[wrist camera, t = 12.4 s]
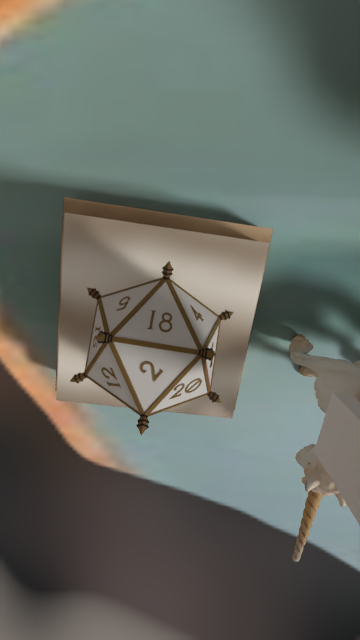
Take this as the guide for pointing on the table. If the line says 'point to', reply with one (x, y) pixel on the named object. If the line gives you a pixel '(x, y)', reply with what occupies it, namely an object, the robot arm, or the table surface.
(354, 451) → the robot arm
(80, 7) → the table surface
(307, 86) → the table surface
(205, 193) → the table surface
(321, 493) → the unicorn figurine
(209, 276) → the tower base
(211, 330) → the game die
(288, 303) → the table surface
